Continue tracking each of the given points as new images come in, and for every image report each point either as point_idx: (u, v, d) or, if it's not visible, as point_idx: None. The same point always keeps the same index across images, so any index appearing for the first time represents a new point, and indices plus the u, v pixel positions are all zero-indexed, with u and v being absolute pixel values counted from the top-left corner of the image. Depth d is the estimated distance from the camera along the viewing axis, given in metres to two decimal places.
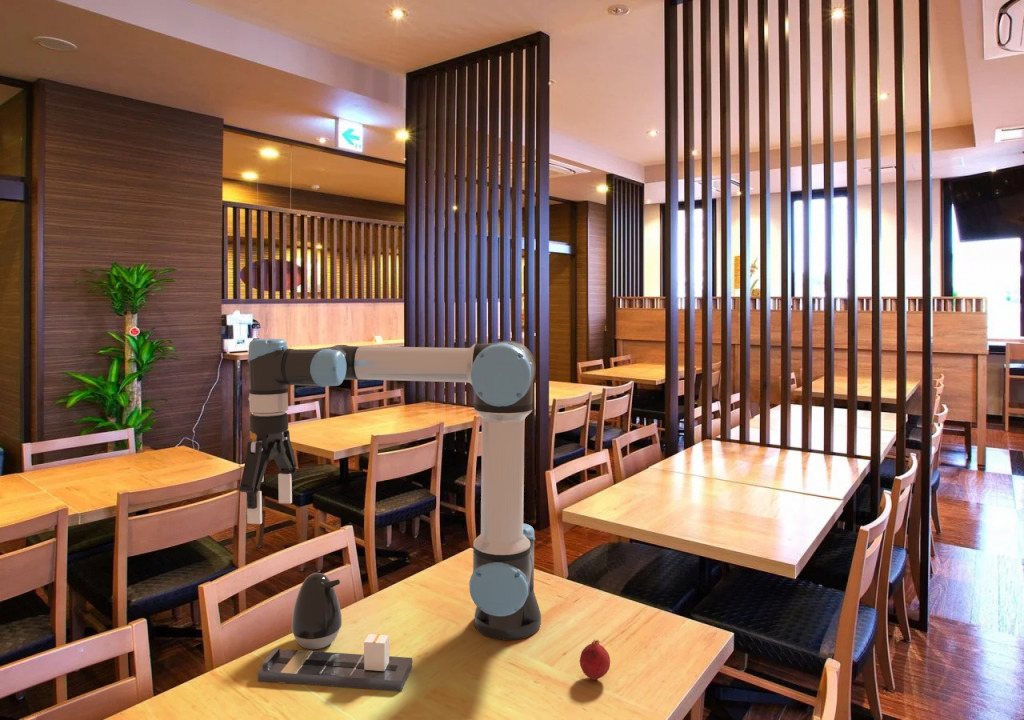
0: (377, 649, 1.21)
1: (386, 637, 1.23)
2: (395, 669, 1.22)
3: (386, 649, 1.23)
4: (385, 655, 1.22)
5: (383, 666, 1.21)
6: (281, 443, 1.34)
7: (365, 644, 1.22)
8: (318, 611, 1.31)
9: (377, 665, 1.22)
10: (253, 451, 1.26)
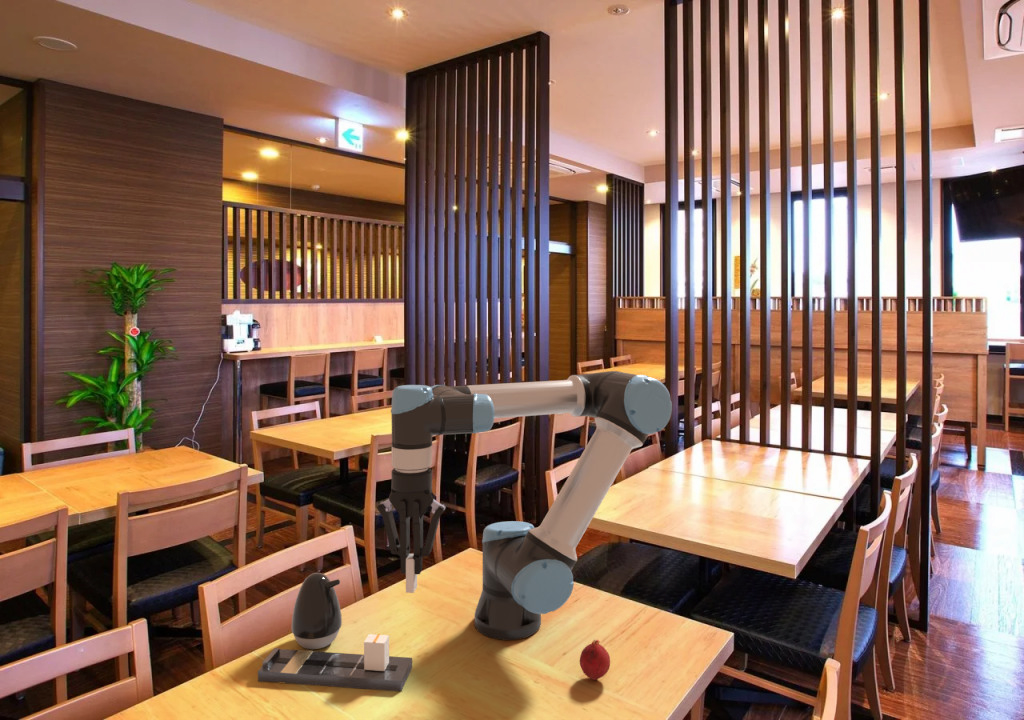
0: (377, 649, 1.21)
1: (386, 637, 1.23)
2: (395, 669, 1.22)
3: (386, 649, 1.23)
4: (385, 655, 1.22)
5: (383, 666, 1.21)
6: (415, 506, 1.18)
7: (365, 644, 1.22)
8: (318, 611, 1.31)
9: (377, 665, 1.22)
10: None
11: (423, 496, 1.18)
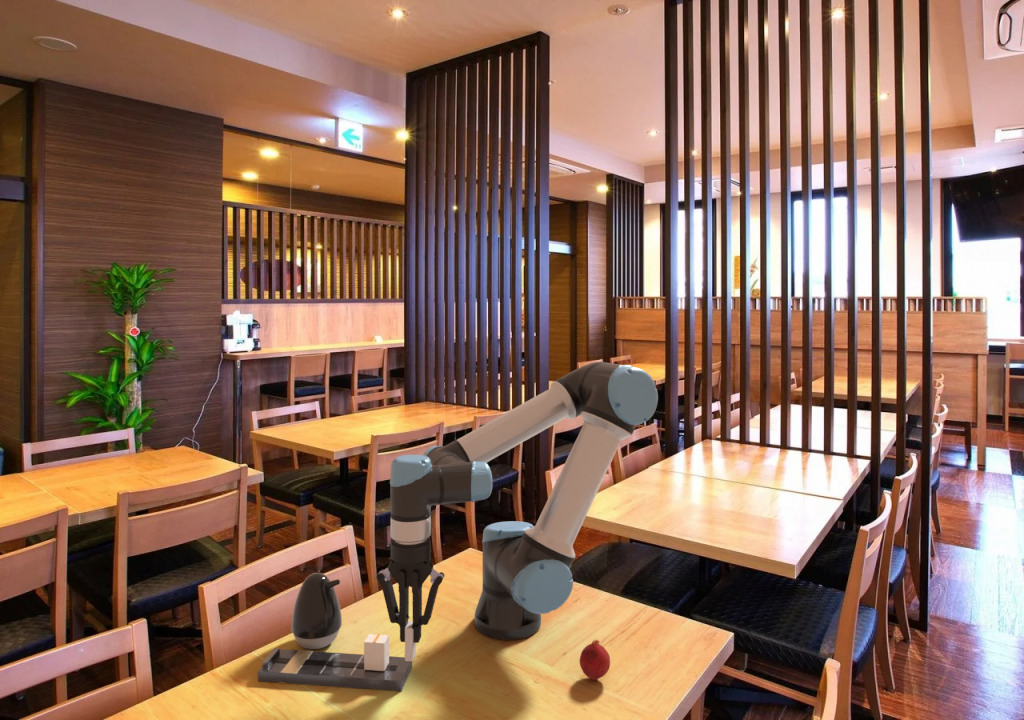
0: (377, 649, 1.21)
1: (386, 637, 1.23)
2: (395, 669, 1.22)
3: (386, 649, 1.23)
4: (385, 655, 1.22)
5: (383, 666, 1.21)
6: (414, 576, 1.19)
7: (365, 644, 1.22)
8: (318, 611, 1.31)
9: (377, 665, 1.22)
10: None
11: (422, 566, 1.20)
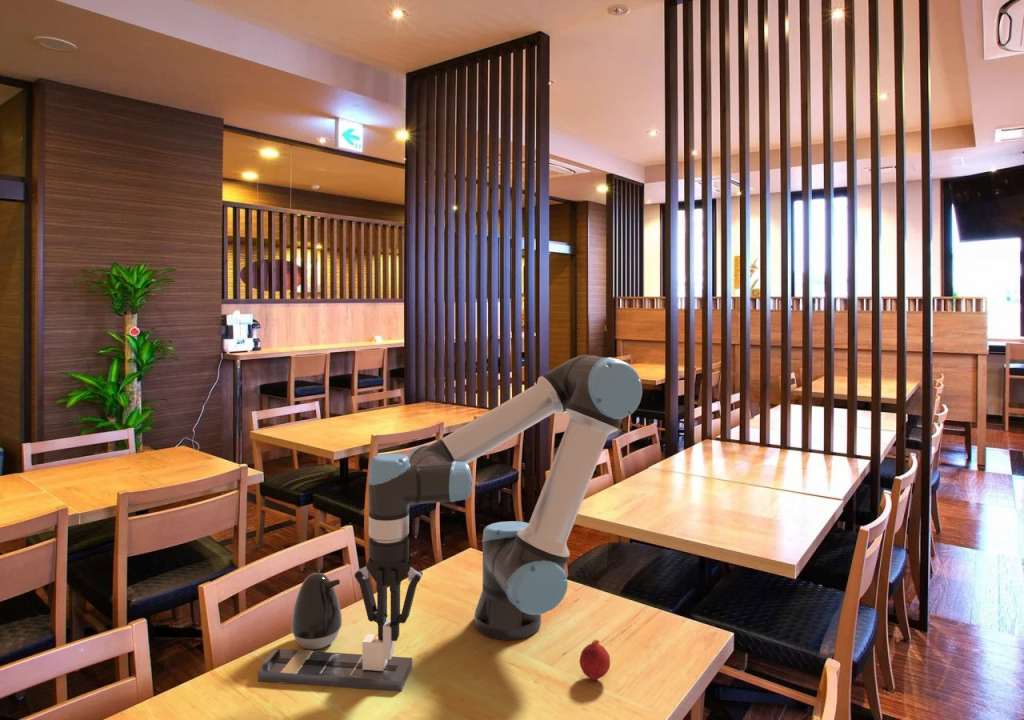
0: (375, 649, 1.21)
1: None
2: (395, 669, 1.22)
3: None
4: None
5: (381, 666, 1.22)
6: (392, 575, 1.19)
7: (363, 644, 1.22)
8: (318, 611, 1.31)
9: (375, 665, 1.22)
10: None
11: (400, 565, 1.20)
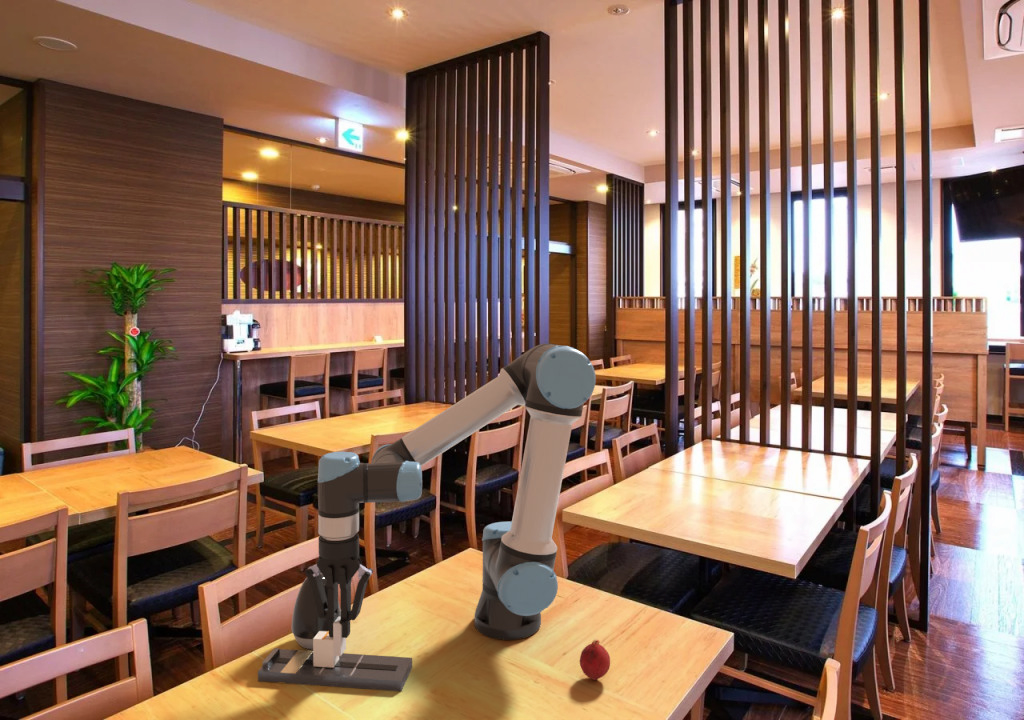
0: (326, 646, 1.22)
1: None
2: (395, 669, 1.22)
3: None
4: None
5: (332, 663, 1.22)
6: (341, 572, 1.20)
7: (314, 641, 1.22)
8: None
9: (326, 662, 1.23)
10: None
11: (349, 562, 1.21)
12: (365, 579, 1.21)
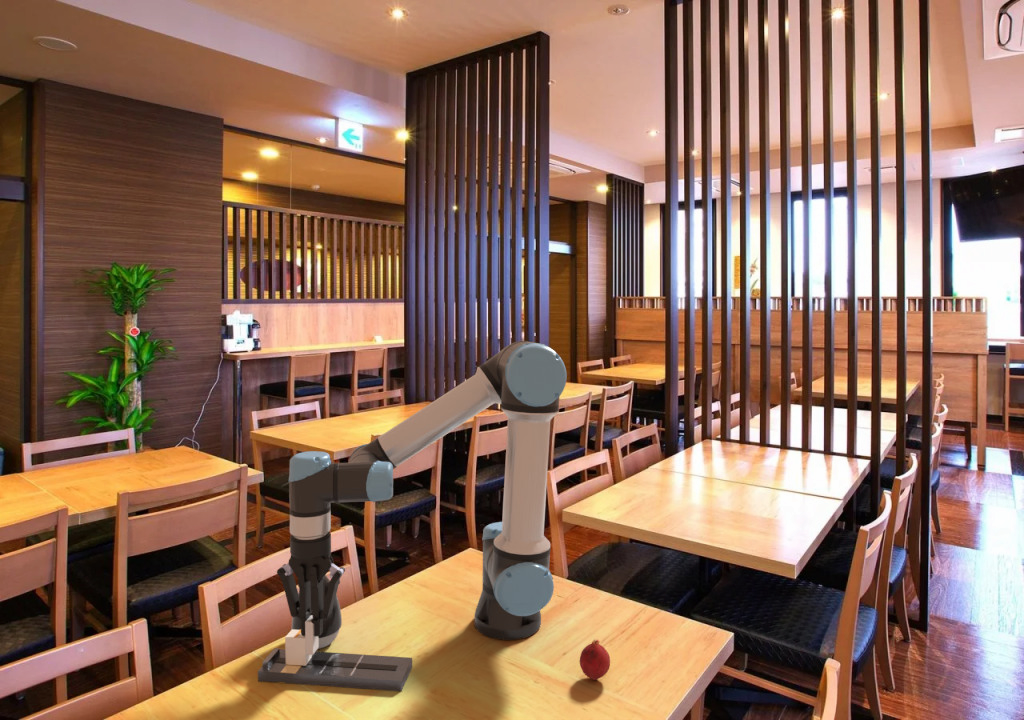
0: (298, 644, 1.23)
1: None
2: (395, 669, 1.22)
3: None
4: None
5: (304, 661, 1.23)
6: (312, 571, 1.21)
7: (286, 639, 1.23)
8: None
9: (298, 660, 1.23)
10: None
11: (321, 561, 1.21)
12: (336, 578, 1.21)
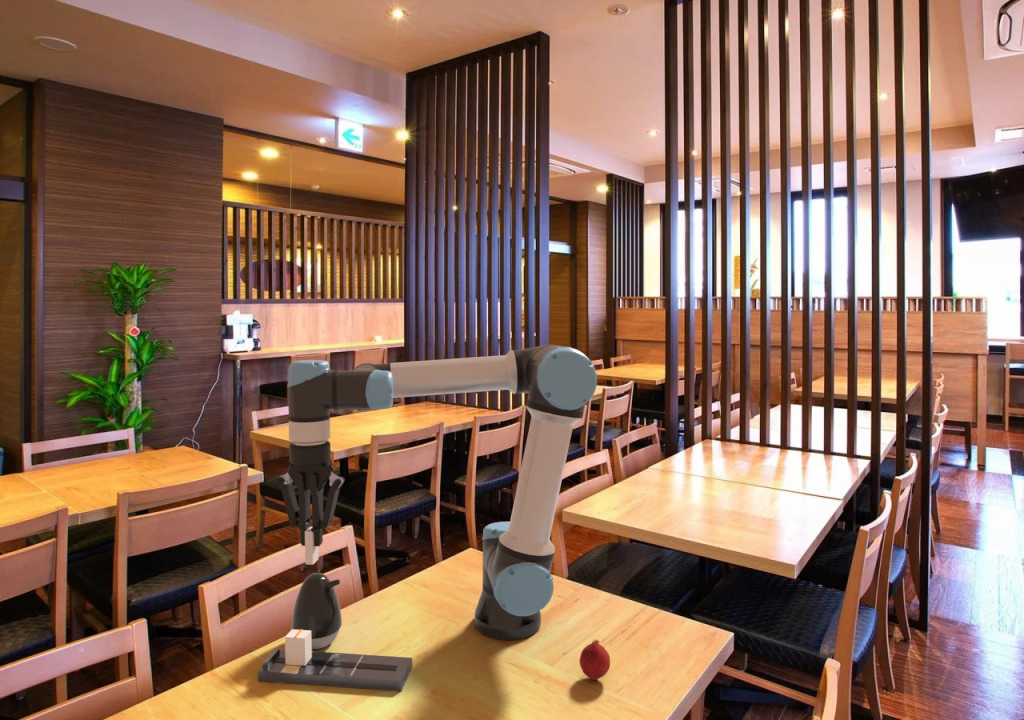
0: (298, 644, 1.23)
1: (308, 632, 1.25)
2: (395, 669, 1.22)
3: (307, 644, 1.24)
4: (306, 650, 1.24)
5: (304, 661, 1.23)
6: (312, 478, 1.20)
7: (286, 639, 1.23)
8: (318, 611, 1.31)
9: (298, 660, 1.23)
10: None
11: (320, 469, 1.20)
12: (336, 486, 1.20)
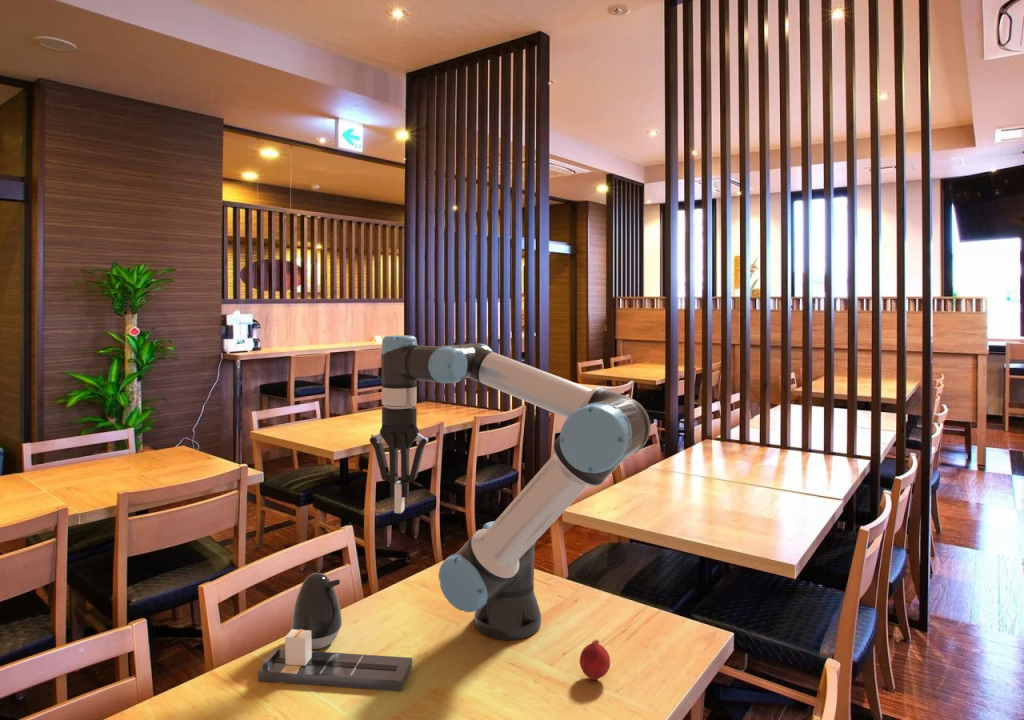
0: (298, 644, 1.23)
1: (308, 632, 1.25)
2: (395, 669, 1.22)
3: (307, 644, 1.24)
4: (306, 650, 1.24)
5: (304, 661, 1.23)
6: (402, 438, 1.38)
7: (286, 639, 1.23)
8: (318, 611, 1.31)
9: (298, 660, 1.23)
10: None
11: (409, 430, 1.38)
12: (423, 444, 1.38)
